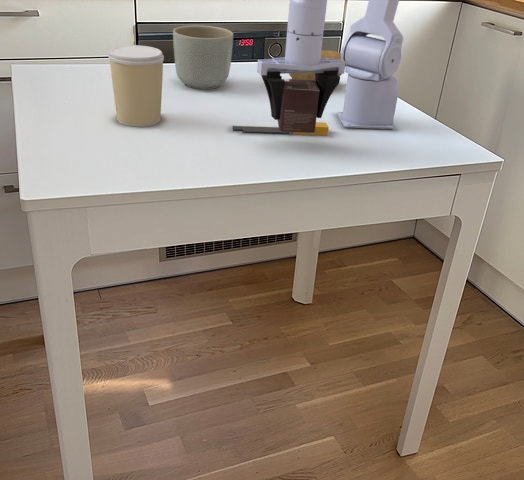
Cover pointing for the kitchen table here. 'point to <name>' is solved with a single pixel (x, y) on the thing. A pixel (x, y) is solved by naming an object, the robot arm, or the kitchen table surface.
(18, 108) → the kitchen table surface
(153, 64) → the coffee cup
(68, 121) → the kitchen table surface
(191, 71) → the planter
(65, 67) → the kitchen table surface
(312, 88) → the box
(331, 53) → the potato
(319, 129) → the knife
